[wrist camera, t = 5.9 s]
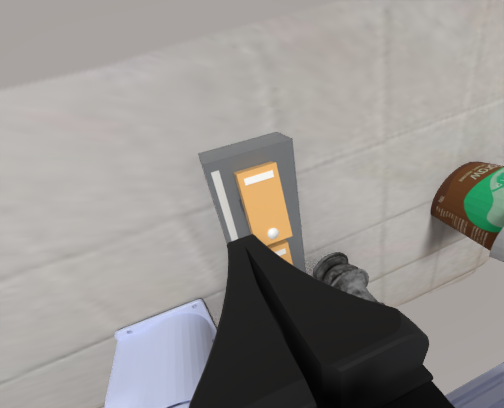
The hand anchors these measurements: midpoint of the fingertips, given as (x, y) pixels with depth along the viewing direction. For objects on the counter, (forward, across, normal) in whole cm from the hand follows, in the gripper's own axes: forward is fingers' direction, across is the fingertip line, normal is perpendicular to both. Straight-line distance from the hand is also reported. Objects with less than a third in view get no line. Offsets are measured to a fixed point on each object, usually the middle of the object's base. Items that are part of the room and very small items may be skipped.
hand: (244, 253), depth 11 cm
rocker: (+6, -3, +2) cm, 7 cm away
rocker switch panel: (+10, -3, +8) cm, 14 cm away
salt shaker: (+11, -12, +17) cm, 23 cm away
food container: (+11, -31, +10) cm, 34 cm away
